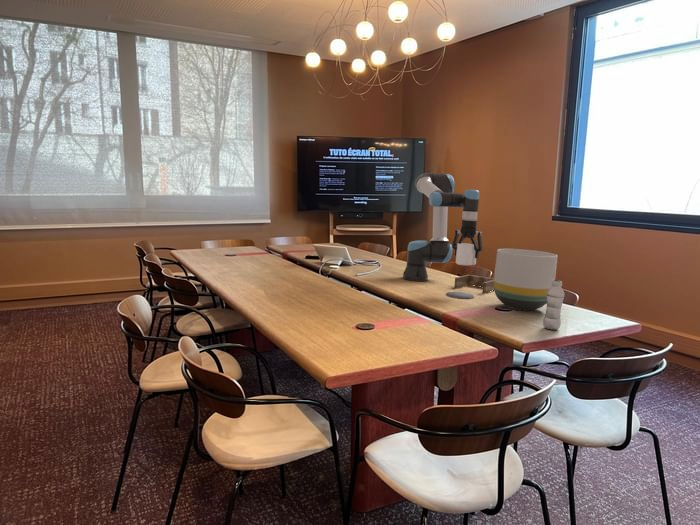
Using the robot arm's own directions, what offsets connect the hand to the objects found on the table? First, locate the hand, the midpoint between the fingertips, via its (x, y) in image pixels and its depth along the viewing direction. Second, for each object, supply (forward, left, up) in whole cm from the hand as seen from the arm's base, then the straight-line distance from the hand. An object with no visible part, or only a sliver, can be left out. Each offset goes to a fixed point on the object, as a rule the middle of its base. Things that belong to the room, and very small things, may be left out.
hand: (465, 263), depth 246 cm
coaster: (0, -4, -17) cm, 17 cm away
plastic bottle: (+53, -33, -17) cm, 65 cm away
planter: (+32, -6, -17) cm, 37 cm away
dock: (-2, +22, -17) cm, 28 cm away
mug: (+1, 0, -1) cm, 1 cm away
